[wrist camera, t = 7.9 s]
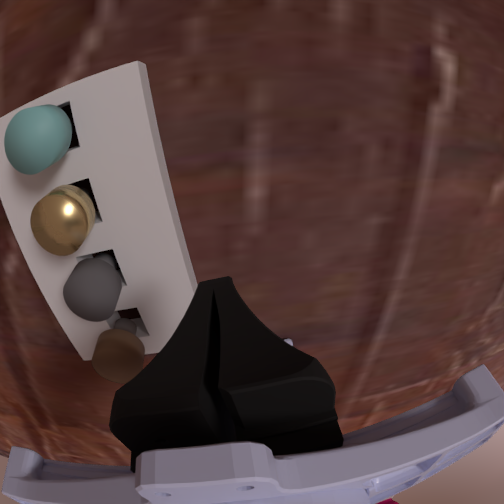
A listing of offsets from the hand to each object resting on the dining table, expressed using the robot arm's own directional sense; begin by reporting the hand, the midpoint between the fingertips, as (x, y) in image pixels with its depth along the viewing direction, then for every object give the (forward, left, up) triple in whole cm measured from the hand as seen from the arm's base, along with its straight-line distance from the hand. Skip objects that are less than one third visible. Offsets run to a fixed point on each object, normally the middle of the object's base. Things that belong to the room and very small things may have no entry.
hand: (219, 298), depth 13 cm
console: (0, +8, -10) cm, 13 cm away
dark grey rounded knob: (-2, +8, -8) cm, 12 cm away
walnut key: (-7, +8, -7) cm, 13 cm away
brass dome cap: (+3, +8, -8) cm, 12 cm away
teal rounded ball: (+8, +8, -8) cm, 15 cm away
